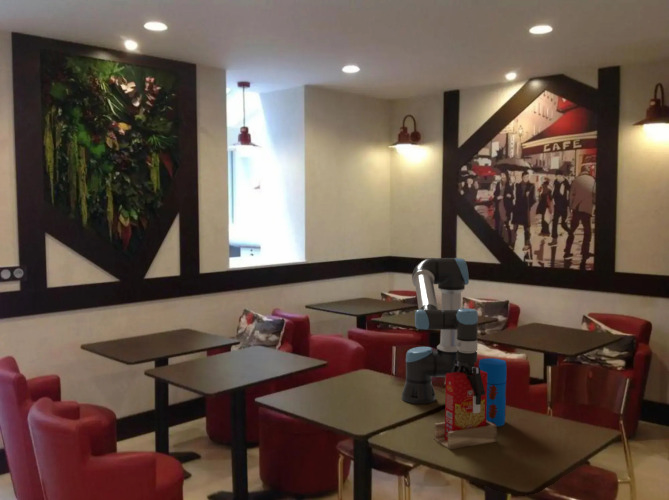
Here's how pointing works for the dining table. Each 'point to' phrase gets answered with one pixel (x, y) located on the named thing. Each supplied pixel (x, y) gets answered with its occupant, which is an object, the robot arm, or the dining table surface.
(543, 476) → the dining table surface
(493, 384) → the thermos
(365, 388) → the dining table surface
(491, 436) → the u rest
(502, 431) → the dining table surface
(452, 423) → the food packaging
